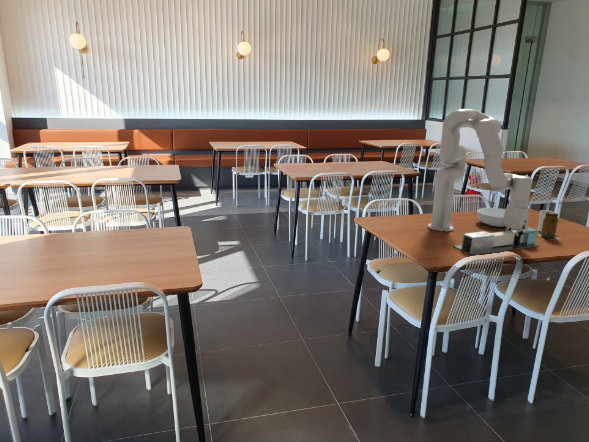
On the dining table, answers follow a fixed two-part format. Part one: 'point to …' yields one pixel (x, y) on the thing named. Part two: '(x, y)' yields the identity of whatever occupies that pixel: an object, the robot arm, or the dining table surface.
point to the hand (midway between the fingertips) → (512, 241)
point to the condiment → (549, 226)
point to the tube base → (484, 243)
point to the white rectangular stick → (505, 238)
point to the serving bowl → (491, 216)
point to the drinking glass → (542, 218)
